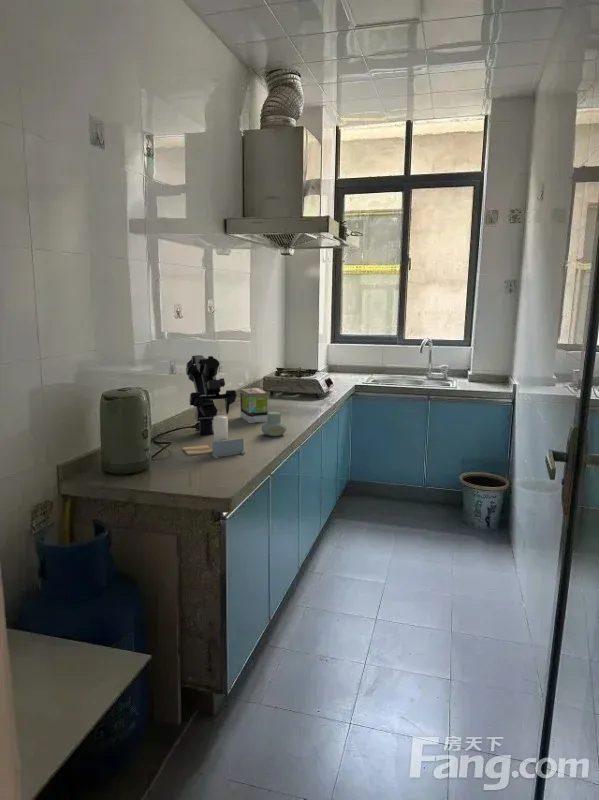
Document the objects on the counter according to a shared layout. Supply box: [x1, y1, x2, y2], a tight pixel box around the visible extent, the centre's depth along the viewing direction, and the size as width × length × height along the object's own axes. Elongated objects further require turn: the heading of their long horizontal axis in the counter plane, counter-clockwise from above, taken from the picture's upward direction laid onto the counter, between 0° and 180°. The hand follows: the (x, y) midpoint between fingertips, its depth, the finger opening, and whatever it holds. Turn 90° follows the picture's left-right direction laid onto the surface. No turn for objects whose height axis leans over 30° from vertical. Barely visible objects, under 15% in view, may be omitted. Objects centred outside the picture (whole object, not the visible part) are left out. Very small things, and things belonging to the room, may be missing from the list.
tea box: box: [239, 387, 269, 424], centre depth 264 cm, size 15×10×15 cm, turn 22°
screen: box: [211, 437, 246, 459], centre depth 207 cm, size 4×12×6 cm, turn 117°
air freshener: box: [261, 411, 287, 437], centre depth 236 cm, size 11×8×10 cm
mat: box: [182, 444, 213, 457], centre depth 212 cm, size 10×10×1 cm
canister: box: [212, 415, 229, 441], centre depth 210 cm, size 6×6×14 cm
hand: (216, 414), depth 216 cm, fingers open, 9 cm apart
